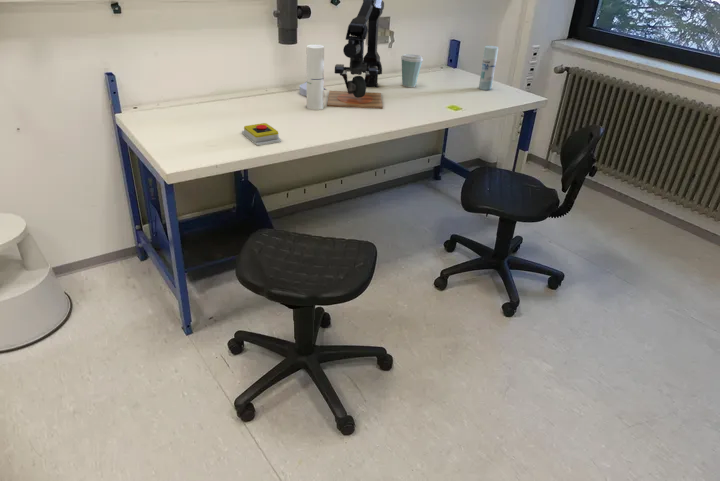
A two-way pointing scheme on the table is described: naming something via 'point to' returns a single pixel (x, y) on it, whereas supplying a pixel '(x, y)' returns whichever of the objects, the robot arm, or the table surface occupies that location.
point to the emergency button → (261, 134)
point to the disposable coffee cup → (410, 69)
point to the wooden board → (354, 100)
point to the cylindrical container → (315, 76)
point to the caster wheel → (357, 86)
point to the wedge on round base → (304, 89)
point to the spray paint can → (488, 67)
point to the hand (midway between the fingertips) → (355, 89)
